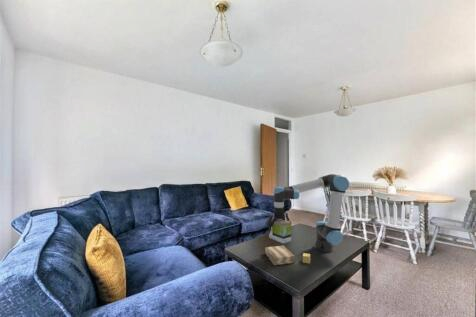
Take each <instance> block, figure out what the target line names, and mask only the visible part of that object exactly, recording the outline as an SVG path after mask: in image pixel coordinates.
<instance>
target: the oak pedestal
mask: <svg viewBox="0 0 476 317" xmlns="http://www.w3.org/2000/svg"><path fill="white" fill-rule="evenodd" d="M264 251H265V252H264V254H265V255H266V256H267V258H268V257H269V258H268V259H269V260H270V261H271V263H272V264H273V265H274V266H278V265H279V266H280V265H287V264H294V263H295V261H296V260H295V258H296V257H295V256H296V255H294V254H293V253H292V252H291V251H290V250H289V249H288V248H287V247H286V246H285V245H277V246H275V245H274V246H266V247H265V250H264Z"/></svg>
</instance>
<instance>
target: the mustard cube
mask: <svg viewBox="0 0 476 317" xmlns="http://www.w3.org/2000/svg"><path fill="white" fill-rule="evenodd" d="M302 263H303V264H304V263H305V264H309V265H310V264H311V254H310V253H305V252H303V253H302Z"/></svg>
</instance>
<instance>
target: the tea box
mask: <svg viewBox="0 0 476 317" xmlns="http://www.w3.org/2000/svg"><path fill="white" fill-rule="evenodd" d="M272 220H273V218H272ZM272 220H271V221H272ZM268 238H269V239H272V240H274V241H276V242H279V243H281V244H286V243H288V242H292V221H291V220H290V221H287V219H285V220H283V219H277V220H276V221H274V224H273V225H272V236H271V235H270V231H269V230H268Z"/></svg>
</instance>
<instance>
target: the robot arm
mask: <svg viewBox="0 0 476 317" xmlns="http://www.w3.org/2000/svg"><path fill="white" fill-rule="evenodd" d="M349 187H350V182H349V179H348V178H347V177H346V176H345V175H342V174H333V173H331V174H326V175H323V176H319V177H318V178H316V179H313V180H309V181H305V182H302V183H298V184H294V185H290V186H275V187H274V188H273V213H270V214H269V218H268V221H267V223H266V226H267V227H268V232H269V231H270V235H271V236H272V225H273V224H274V221H276V220H277V219H283V220H287V221H291V220H290V218H289V215H288V212H284V211H285V202H284V201H285V200H298V199H299V198H300V194H301V193H302V194H303V193H305V192H308V191H309V192H310V191H312V190H317V189H326V188H328V192H330V196H329V206H328V214H327V221H326V220H321V221H320V220H319V221H316V223H315V241H314V243H313V247H314V249H315V250H316V251H319V252H322V253H331V252H333V251H334V246H335V245H337V246H338V245H339V244H341V243H342V241H343V239H344V235H343V233H342V232H341V230H342V227H341V225H340V221H341V220H340V219H341V212H342V204H343V195H345V194H346V190H348V189H349ZM284 216H285V217H284ZM272 219H273V220H272ZM271 220H272V221H271ZM333 245H334V246H333Z"/></svg>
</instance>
